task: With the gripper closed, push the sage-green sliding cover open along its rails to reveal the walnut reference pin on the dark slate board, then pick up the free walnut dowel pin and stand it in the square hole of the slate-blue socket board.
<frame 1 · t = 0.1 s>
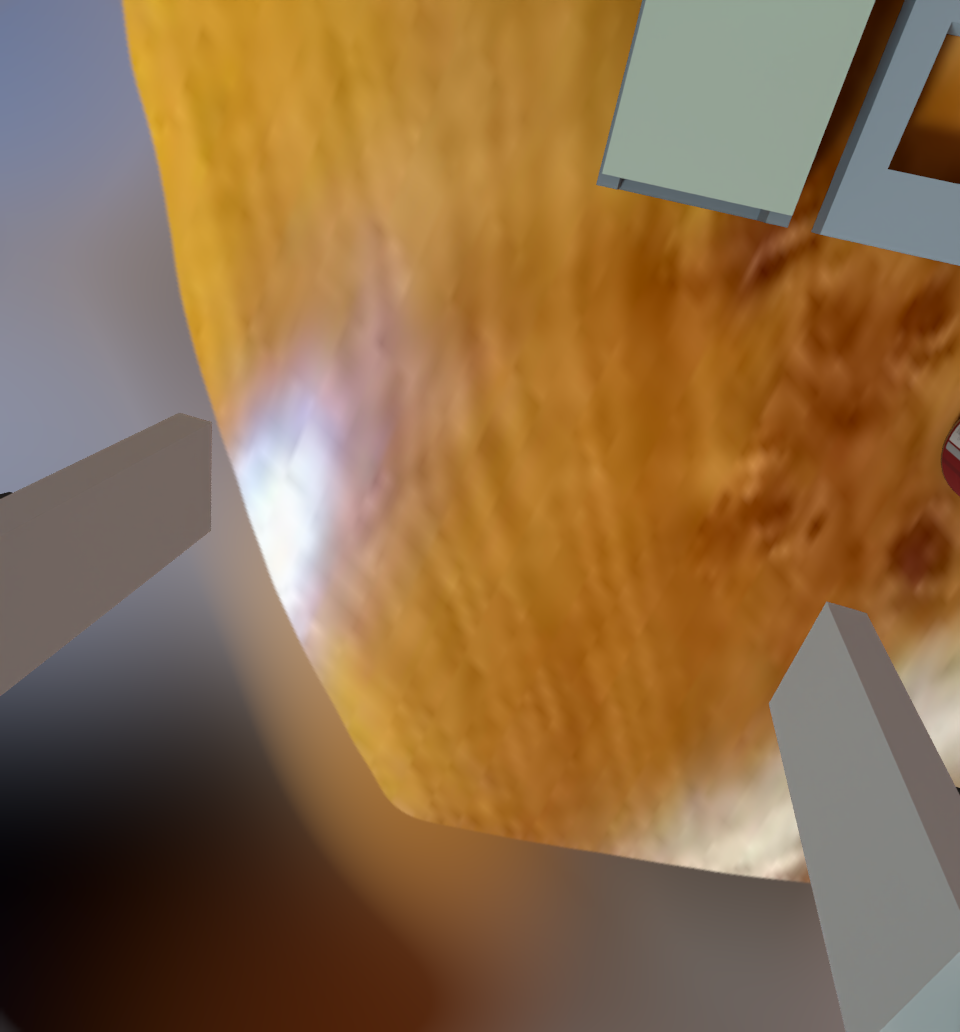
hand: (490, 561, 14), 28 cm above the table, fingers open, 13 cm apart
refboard: (728, 68, 32), on the table
cover: (745, 42, 26), point 6 cm above the table, slide at 0.0 cm
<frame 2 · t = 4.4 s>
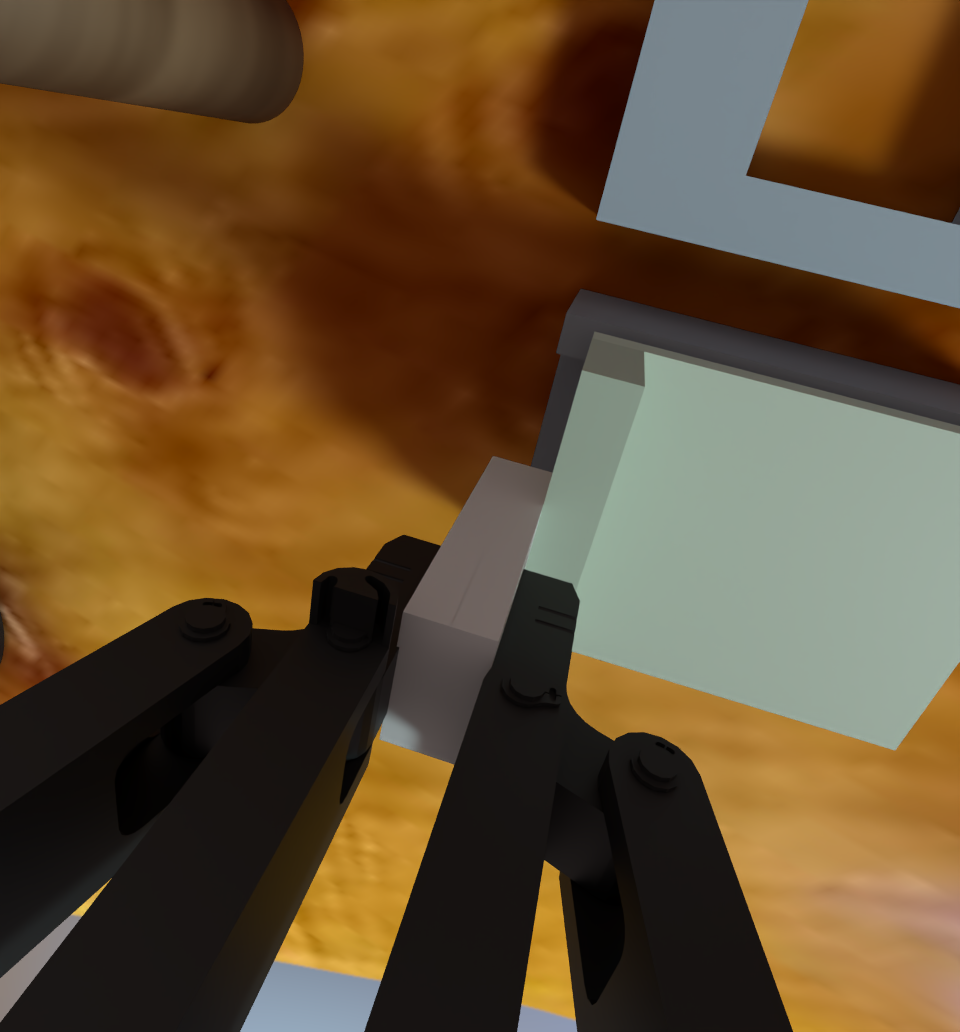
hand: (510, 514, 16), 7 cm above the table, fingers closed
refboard: (723, 477, 21), on the table
pin: (244, 50, 19), on the table
socket: (894, 76, 16), on the table
cover: (764, 586, 16), point 6 cm above the table, slide at 0.3 cm, touching gripper
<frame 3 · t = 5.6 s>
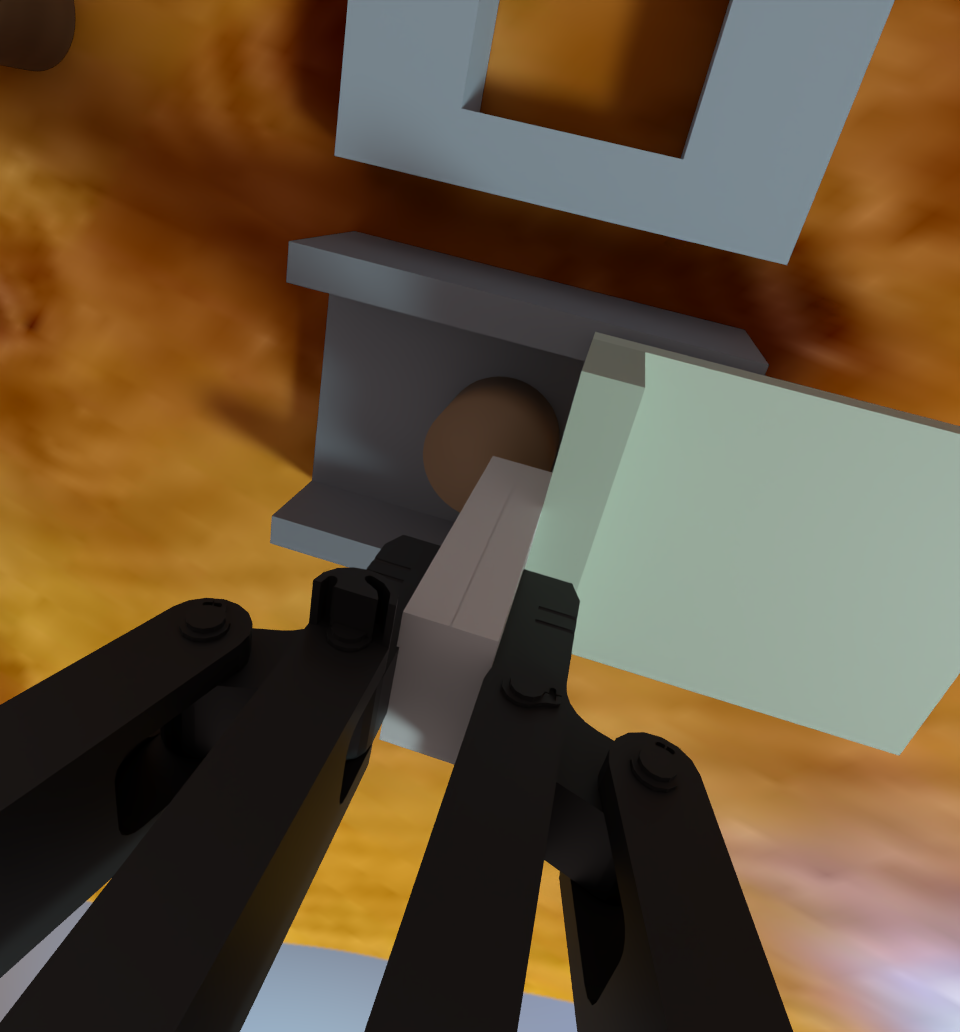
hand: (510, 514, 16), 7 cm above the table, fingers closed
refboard: (510, 419, 22), on the table
socket: (608, 12, 17), on the table
cover: (767, 589, 15), point 6 cm above the table, slide at 7.4 cm, touching gripper
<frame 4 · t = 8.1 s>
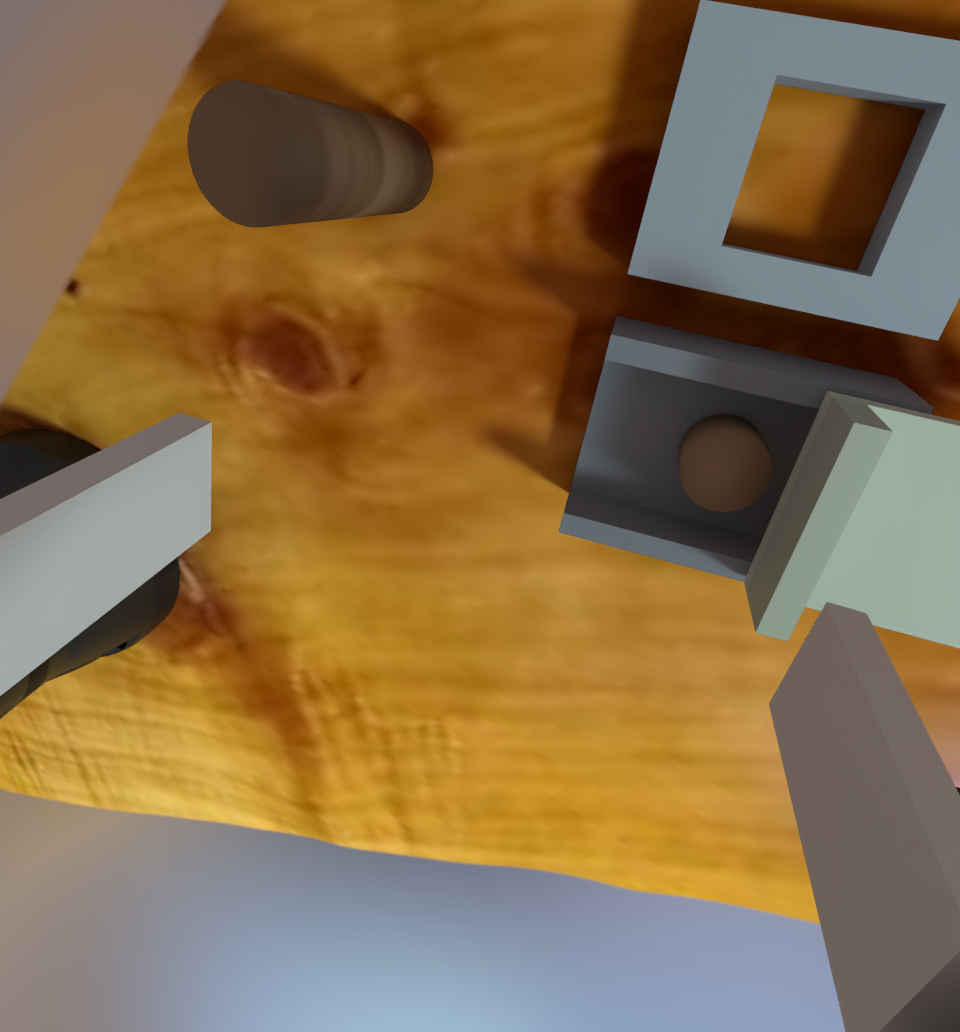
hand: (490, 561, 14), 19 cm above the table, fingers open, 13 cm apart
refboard: (717, 441, 31), on the table
pin: (393, 167, 29), on the table
socket: (814, 180, 26), on the table
cover: (944, 552, 24), point 6 cm above the table, slide at 7.7 cm
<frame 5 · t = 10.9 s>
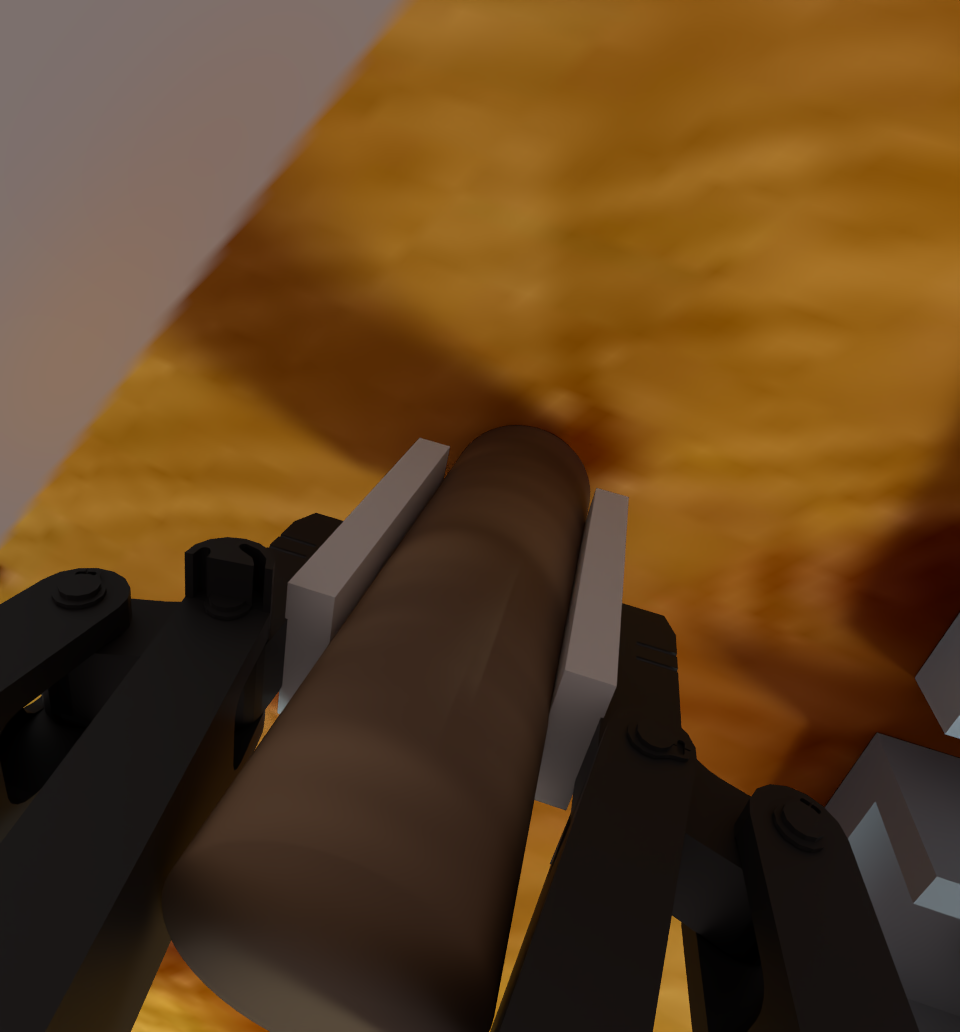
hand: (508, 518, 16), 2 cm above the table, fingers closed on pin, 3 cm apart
pin: (520, 491, 17), on the table, touching gripper
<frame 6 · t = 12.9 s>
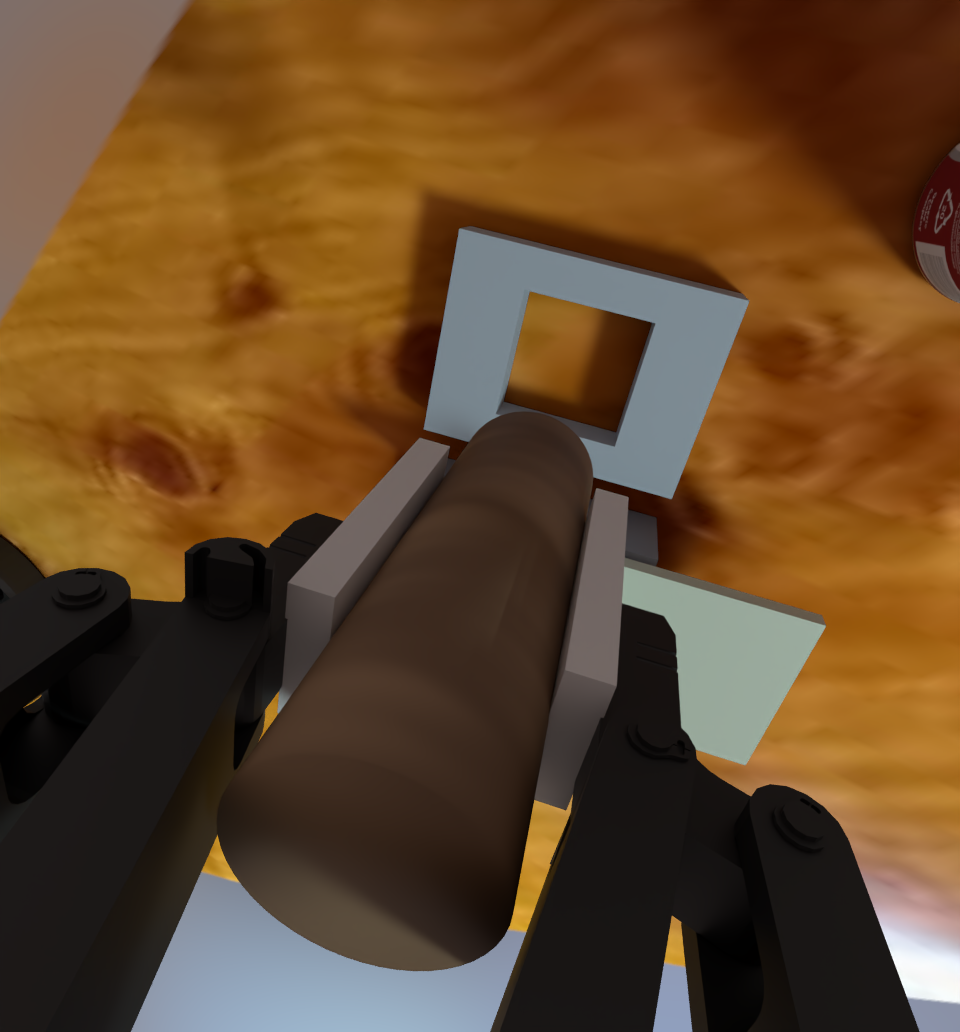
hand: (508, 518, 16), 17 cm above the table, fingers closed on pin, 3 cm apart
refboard: (519, 557, 36), on the table
pin: (526, 475, 18), point 14 cm above the table, touching gripper
socket: (575, 360, 31), on the table
cover: (663, 679, 29), point 7 cm above the table, slide at 7.7 cm
when the fingers open (3 cm above the table, at t = 14.9 s): pin stays where it is, resting in socket.
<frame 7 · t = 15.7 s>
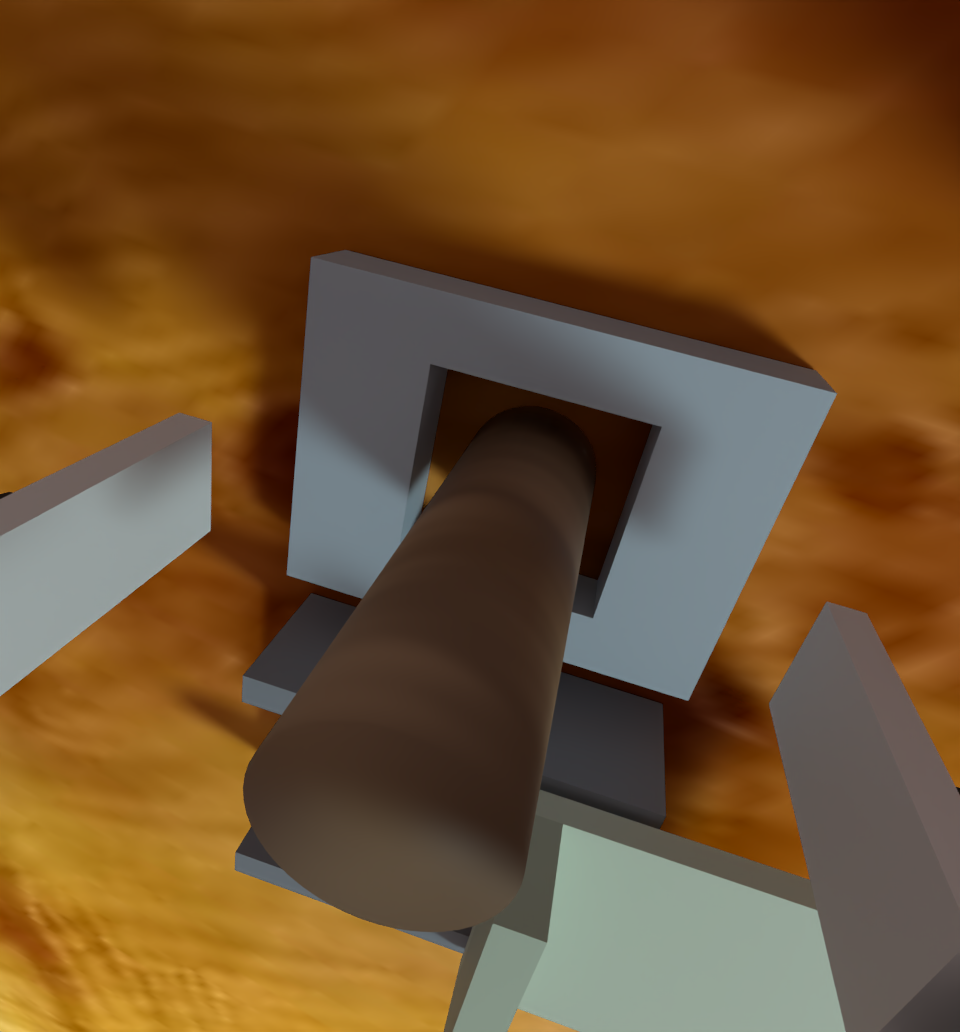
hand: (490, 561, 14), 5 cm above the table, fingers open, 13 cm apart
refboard: (456, 742, 24), on the table
pin: (531, 468, 19), resting in socket
socket: (529, 469, 19), on the table
cover: (674, 1018, 17), point 6 cm above the table, slide at 7.7 cm
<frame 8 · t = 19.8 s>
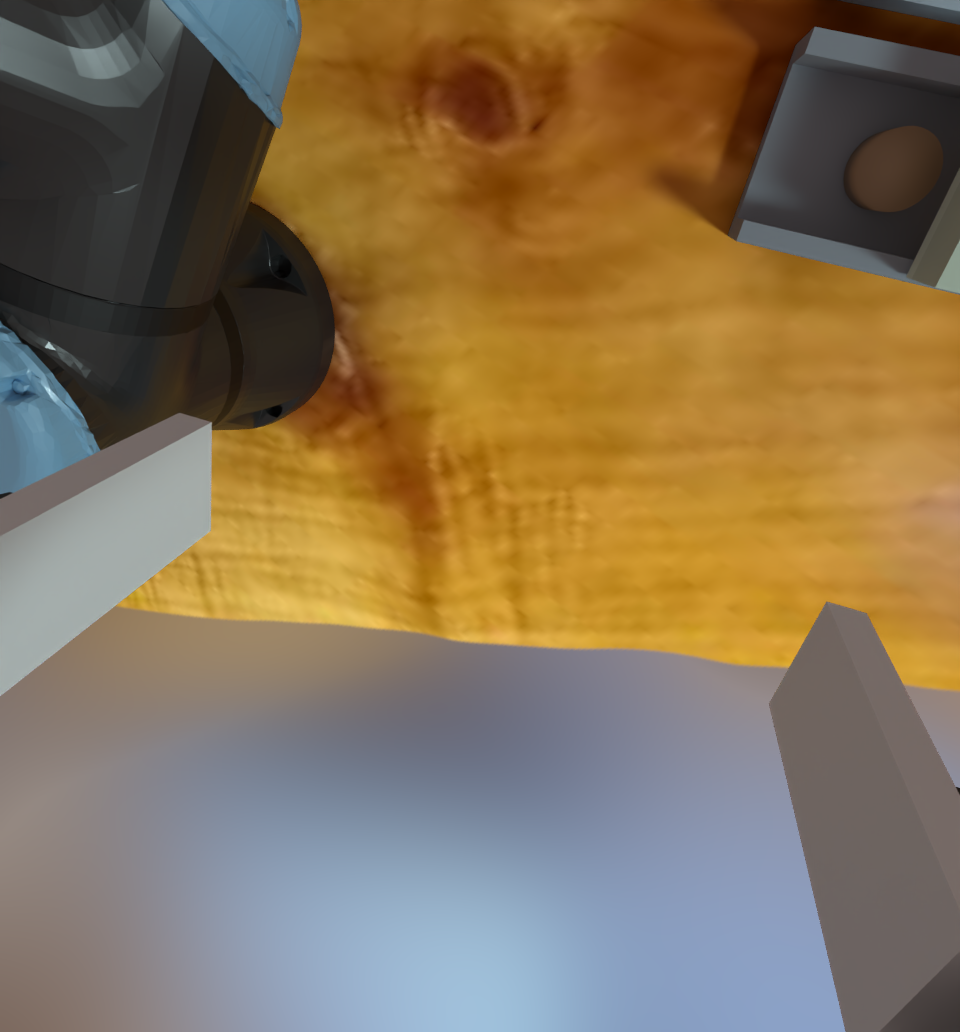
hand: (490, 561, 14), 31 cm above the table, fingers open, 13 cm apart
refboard: (874, 171, 35), on the table
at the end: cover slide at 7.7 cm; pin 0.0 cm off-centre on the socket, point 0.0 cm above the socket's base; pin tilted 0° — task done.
